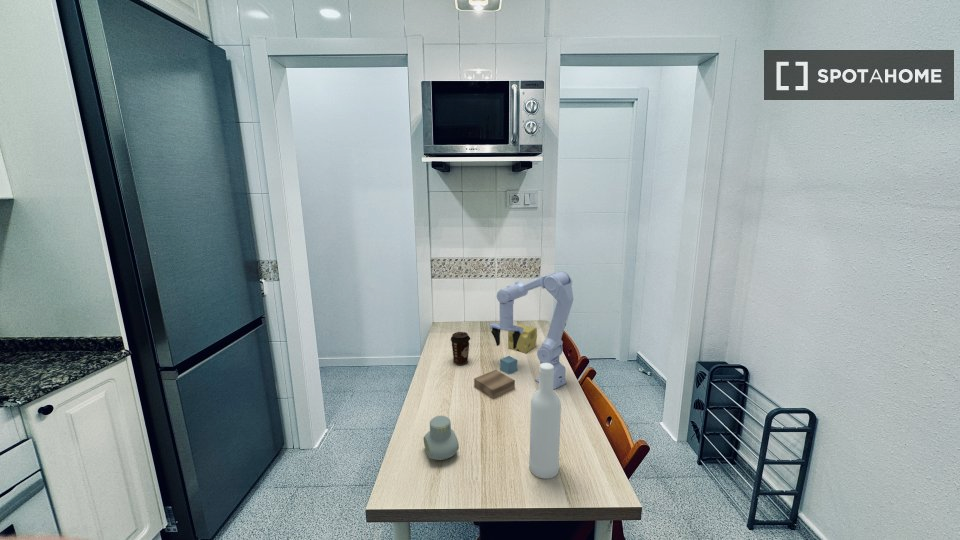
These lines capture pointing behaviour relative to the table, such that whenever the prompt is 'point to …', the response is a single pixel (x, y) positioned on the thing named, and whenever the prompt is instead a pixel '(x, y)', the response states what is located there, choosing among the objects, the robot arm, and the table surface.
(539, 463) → the bottle
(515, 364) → the teal cube
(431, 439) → the air freshener
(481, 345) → the table surface
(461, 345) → the coffee cup
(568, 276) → the robot arm
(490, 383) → the plate
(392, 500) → the table surface
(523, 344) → the cheese
